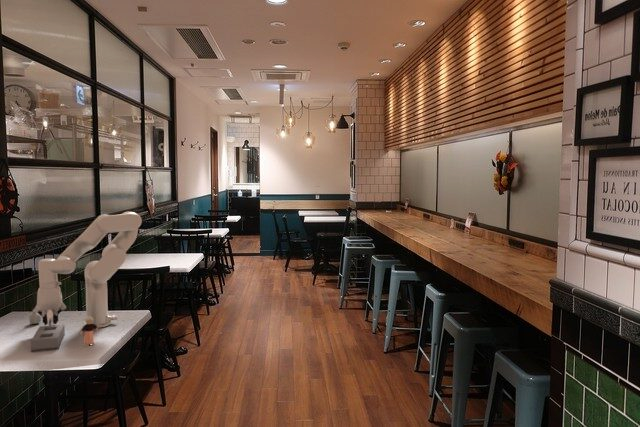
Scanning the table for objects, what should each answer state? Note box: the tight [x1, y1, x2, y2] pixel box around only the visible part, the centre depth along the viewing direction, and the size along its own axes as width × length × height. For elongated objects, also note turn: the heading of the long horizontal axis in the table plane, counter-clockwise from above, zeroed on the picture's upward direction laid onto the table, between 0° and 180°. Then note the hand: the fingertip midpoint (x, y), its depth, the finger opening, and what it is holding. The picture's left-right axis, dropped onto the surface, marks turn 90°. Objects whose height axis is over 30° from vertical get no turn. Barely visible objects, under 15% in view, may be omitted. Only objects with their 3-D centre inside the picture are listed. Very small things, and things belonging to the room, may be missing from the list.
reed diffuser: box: [23, 283, 42, 325], centre depth 242 cm, size 10×7×20 cm
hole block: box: [30, 324, 66, 353], centre depth 215 cm, size 10×20×5 cm, turn 21°
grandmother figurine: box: [79, 316, 100, 347], centre depth 213 cm, size 8×4×13 cm, turn 148°
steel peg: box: [45, 309, 56, 326], centre depth 230 cm, size 4×4×12 cm
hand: (50, 323), depth 230 cm, fingers closed on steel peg, 3 cm apart
